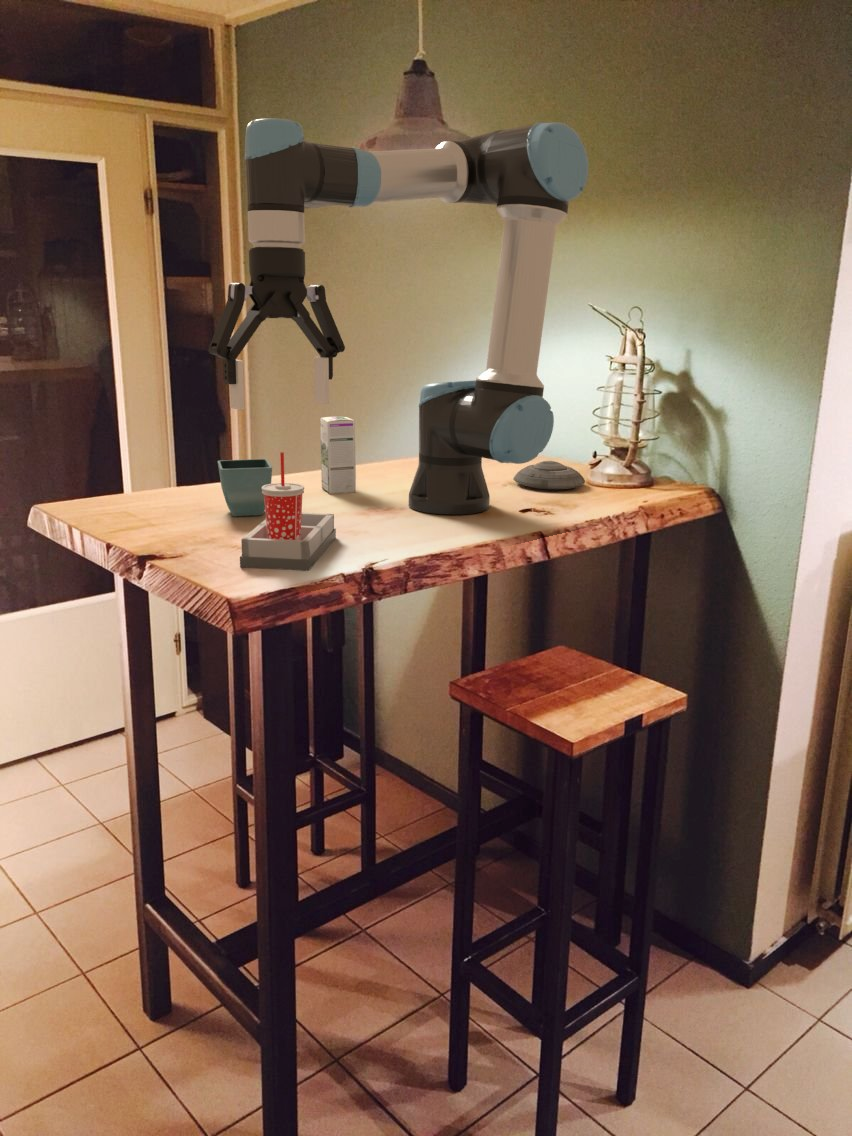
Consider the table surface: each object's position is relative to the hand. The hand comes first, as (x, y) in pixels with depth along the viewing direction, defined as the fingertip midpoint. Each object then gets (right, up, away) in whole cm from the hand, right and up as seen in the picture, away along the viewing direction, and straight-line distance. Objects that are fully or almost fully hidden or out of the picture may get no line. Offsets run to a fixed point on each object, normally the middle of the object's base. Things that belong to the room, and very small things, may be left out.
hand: (280, 406), depth 132 cm
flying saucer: (+46, -6, +65) cm, 80 cm away
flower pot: (-11, -13, +34) cm, 39 cm away
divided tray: (0, -20, +10) cm, 23 cm away
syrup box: (+3, -8, +55) cm, 56 cm away
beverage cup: (0, -20, +6) cm, 21 cm away
